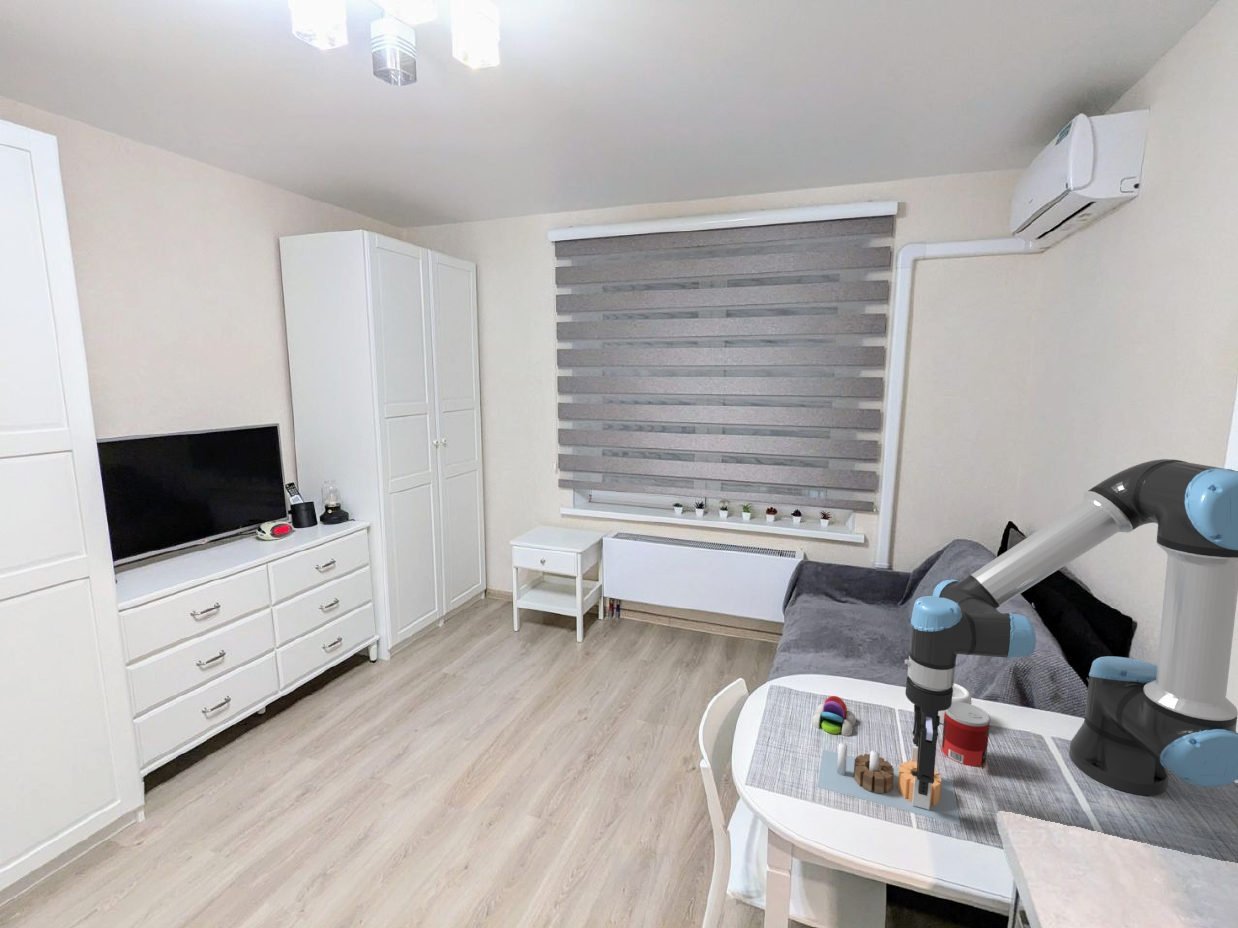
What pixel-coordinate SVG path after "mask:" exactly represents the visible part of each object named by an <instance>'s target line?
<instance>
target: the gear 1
mask: <svg viewBox="0 0 1238 928" xmlns="http://www.w3.org/2000/svg"><path fill="white" fill-rule="evenodd" d="M869 765H870V753H864V754H860V755H859V754H858V755H857V756H856V759H855V763H854V778H855V781H856V782H857V783H858V784H859V785H863V788H864V789H866V790H869V791H872V789H873V790H874V792H875V793H884V791H885V792H886V793H887V792H888V791H890V790H892V788H893V779H894V768H892V766H893V765H892V764H891V763H890V762H889V761H888V760H885V758H883V757H881V756H879V766H878V772H874V771H871V770H869Z"/></svg>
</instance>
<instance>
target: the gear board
mask: <svg viewBox="0 0 1238 928" xmlns="http://www.w3.org/2000/svg"><path fill="white" fill-rule="evenodd" d="M837 747H838V748H837V749H838V750H837V752H836V751H832V750H826V749H822V752H821V753H822V754H821V760H820V767H819V776H818V781H817V788H819V789H823V790H827V791H831V792H834V793H839V794H841V795H845V796H850V797H853V798H856V799H859V800H864V801H868V802H871V803H875V804H878V805H881V806H882V805H883V806H885V807H886V806H887V807H889V808H893V809H898V810H899V811H900V810H901V811H904V812H909V813H911V814H916V815H919V816H924V817H927V818H929V819H934V820H937V821H941V822H944V823H948V824H949V823H950V824H953V825H957V826H961V825H962V824H961V820H960V815H959V809H958V804H957V798H956V793H955V792H956V791H955V788H954V787H955V785H954V782H953V780H950V779H946V778H941V791H940V801H939V803H938V804H936V805H934V806H933V805H931V807H929V810H928V809H924V808H921V807H917V806H913V805H912V802H910V801H908V798H906V799H905V798H904V797H903V796H902V795H901V794H900V793H899V790H898V775H899V767H897V766H894V765H892V768H894V779H893V788H892V790H890V791H888V792H887V793H886V792H885V791H884V793H875V792H874V790H873V789H872V791H869V790H866V789H864V788H863V785H859V784H858V783H857V782H856V781H855V778H854V763H855V759H856V757H857V756H856V757H855V756H852V755H847V754H848V745H847V744H846V743H844V742H840V743H838V746H837ZM869 754H870V765H869V770H871V771H874V772H878V766H879V757H880V753H879V751H877V750H871V751H870V752H869Z"/></svg>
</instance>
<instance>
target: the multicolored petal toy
mask: <svg viewBox="0 0 1238 928" xmlns="http://www.w3.org/2000/svg"><path fill="white" fill-rule="evenodd" d="M815 711H816V712H815V714H814V715H812V718H811V724H812V726H813V727H814V728H816V729H820V727H821V729H822V730H823V731H824V732H826V733H829V734H832V735H838V734H841V736H842V737H850V736H852V734H853V727H854V726H855V724H856V721H857V717H856V715H855V714H854V712H852V711H850V710H848V707H847V705H846V703H845V701H844V700H843V699H842V698H840V697H839V696H837V695H831V696H828V697H827V698H826V699H825V701H824V703H820V704H819V705H818V706H817V707H816V710H815Z"/></svg>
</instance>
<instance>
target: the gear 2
mask: <svg viewBox="0 0 1238 928" xmlns="http://www.w3.org/2000/svg"><path fill="white" fill-rule="evenodd" d="M898 768H899V775H898V790H899V793H900V794H901V795H902V796H903V797H904V798H905V799H906V798H908V801H910V802H912V801H913V790H914V779H915V776H913V775H912V771H914V772H915V771H917V761H912V760H908V761H903V762H902V763H900V764H899V766H898ZM941 777H942V776H940V773H939V772H938V771H936V770H935V769H934V783H933V784H932V786H931V796H930V806H929V807H931V805H933V806H934V805H936V804H938V803H939V801H940V791H941Z"/></svg>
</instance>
